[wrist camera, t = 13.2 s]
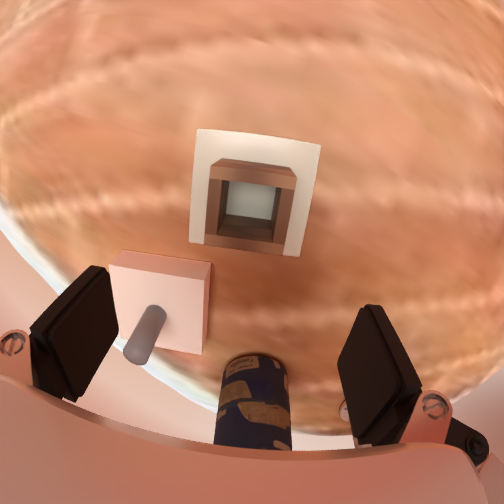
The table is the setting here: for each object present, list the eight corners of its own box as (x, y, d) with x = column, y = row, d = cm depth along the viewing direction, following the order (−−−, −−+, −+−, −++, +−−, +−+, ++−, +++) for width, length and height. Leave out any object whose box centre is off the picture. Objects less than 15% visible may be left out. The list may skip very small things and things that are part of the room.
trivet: (319, 144, 25) (321, 145, 25) (298, 253, 30) (299, 257, 30) (199, 128, 25) (197, 128, 24) (190, 239, 30) (188, 242, 29)
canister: (210, 365, 39) (190, 473, 22) (262, 340, 36) (259, 464, 20) (250, 396, 42) (244, 493, 25) (299, 375, 39) (308, 482, 23)
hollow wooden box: (289, 167, 26) (297, 177, 20) (279, 230, 28) (282, 255, 23) (221, 158, 26) (210, 165, 20) (215, 221, 28) (203, 244, 23)
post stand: (211, 262, 31) (188, 324, 21) (207, 334, 36) (191, 399, 26) (123, 249, 31) (75, 299, 21) (131, 319, 36) (100, 376, 26)
